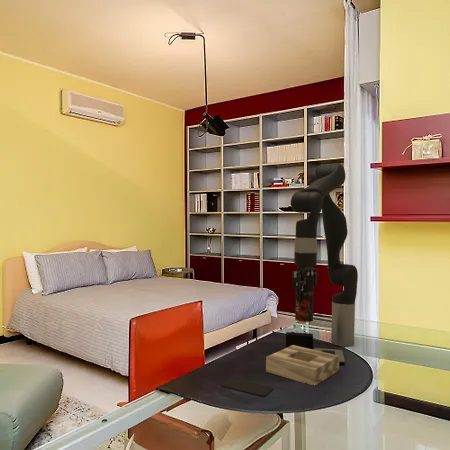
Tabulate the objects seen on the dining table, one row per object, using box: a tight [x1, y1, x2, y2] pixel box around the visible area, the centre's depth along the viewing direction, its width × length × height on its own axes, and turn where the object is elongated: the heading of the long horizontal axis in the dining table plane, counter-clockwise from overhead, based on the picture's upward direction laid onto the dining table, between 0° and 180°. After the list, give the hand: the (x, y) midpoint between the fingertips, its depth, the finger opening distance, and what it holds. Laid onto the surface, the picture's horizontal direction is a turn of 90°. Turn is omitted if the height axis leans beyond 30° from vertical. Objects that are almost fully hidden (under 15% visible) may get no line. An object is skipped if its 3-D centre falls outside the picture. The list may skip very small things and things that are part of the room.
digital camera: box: [285, 331, 314, 350], centre depth 162 cm, size 10×5×7 cm, turn 81°
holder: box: [265, 345, 340, 387], centre depth 141 cm, size 18×18×5 cm
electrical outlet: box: [313, 347, 346, 364], centre depth 154 cm, size 13×10×2 cm
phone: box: [220, 377, 274, 398], centre depth 126 cm, size 7×1×15 cm
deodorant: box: [294, 276, 315, 323], centre depth 141 cm, size 6×6×15 cm
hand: (304, 300), depth 141 cm, fingers closed on deodorant, 6 cm apart
